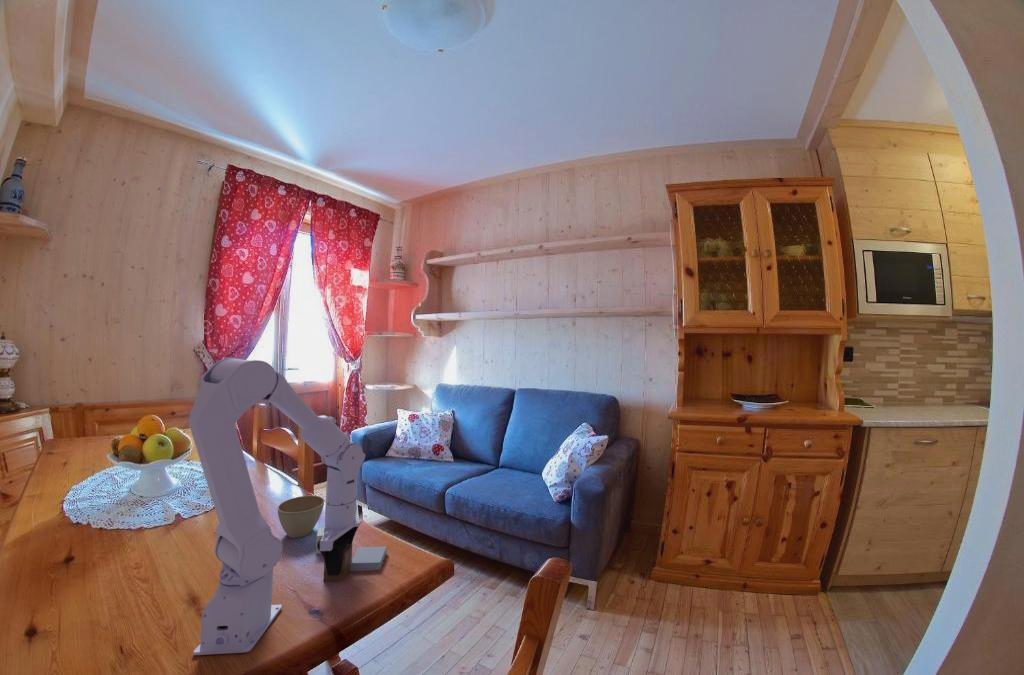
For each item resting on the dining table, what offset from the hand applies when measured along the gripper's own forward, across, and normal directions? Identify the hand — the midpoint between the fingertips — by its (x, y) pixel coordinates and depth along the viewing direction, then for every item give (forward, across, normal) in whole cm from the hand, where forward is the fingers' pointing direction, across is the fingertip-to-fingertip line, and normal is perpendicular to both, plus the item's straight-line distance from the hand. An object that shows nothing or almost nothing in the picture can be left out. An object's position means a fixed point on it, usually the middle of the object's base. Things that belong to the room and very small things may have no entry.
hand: (338, 567), depth 72 cm
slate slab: (+2, +4, -5) cm, 7 cm away
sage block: (+2, +10, +6) cm, 12 cm away
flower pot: (+2, +17, +15) cm, 23 cm away
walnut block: (+1, 0, 0) cm, 1 cm away
